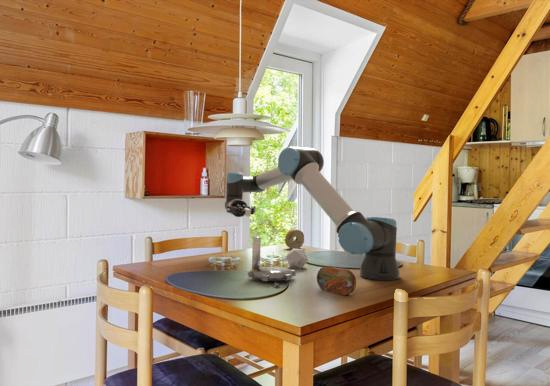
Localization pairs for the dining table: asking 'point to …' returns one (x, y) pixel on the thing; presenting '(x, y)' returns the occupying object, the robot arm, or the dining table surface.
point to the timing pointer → (276, 284)
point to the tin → (336, 280)
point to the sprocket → (267, 272)
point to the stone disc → (297, 242)
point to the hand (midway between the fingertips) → (248, 213)
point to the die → (297, 258)
